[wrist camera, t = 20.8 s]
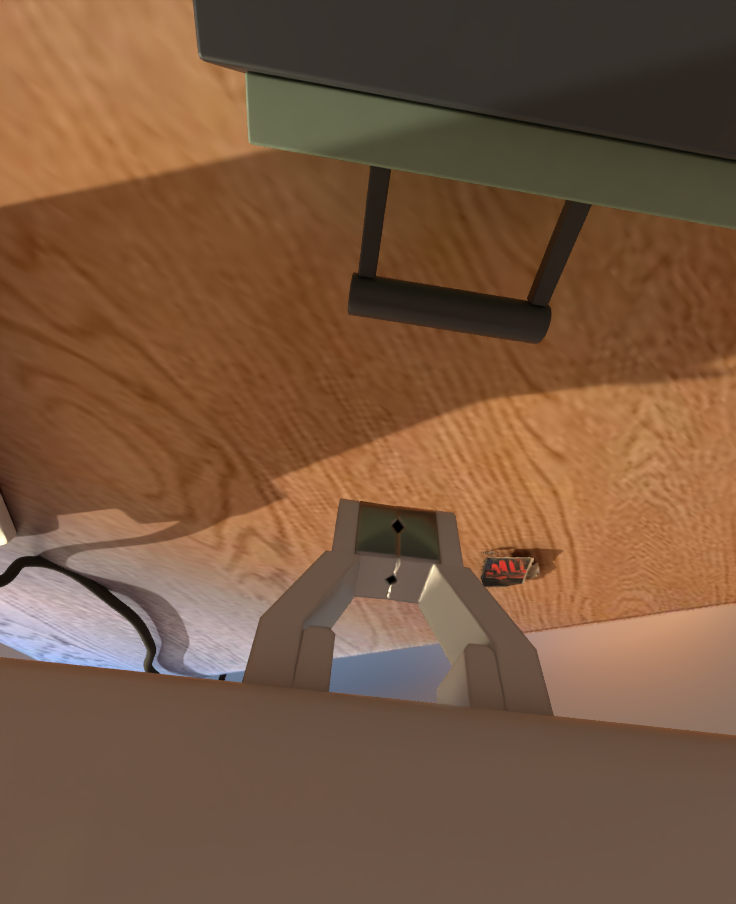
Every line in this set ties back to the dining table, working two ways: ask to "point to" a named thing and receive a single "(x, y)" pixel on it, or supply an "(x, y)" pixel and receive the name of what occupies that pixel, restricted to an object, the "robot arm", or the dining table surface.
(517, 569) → the matchbox
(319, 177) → the dining table surface
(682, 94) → the black storage box
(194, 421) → the dining table surface
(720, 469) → the dining table surface
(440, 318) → the drawer
